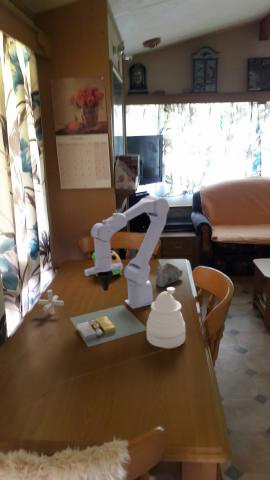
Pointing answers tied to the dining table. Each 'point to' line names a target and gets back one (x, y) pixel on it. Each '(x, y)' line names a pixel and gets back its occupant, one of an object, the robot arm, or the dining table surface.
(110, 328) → the tan knobbed block
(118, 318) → the mat
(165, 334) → the honey pot
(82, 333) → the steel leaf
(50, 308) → the pipe connector
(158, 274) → the mineral rock
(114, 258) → the turtle holder
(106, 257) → the robot arm
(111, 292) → the dining table surface
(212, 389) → the dining table surface
